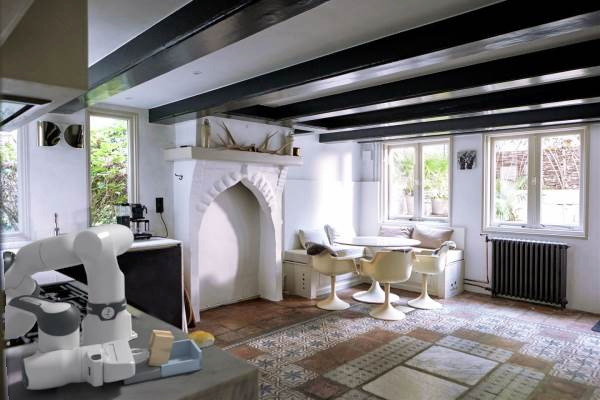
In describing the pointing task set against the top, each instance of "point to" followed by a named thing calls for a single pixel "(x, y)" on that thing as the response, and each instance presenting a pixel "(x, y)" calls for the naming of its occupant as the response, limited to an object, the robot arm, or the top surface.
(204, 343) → the bread roll
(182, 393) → the top surface
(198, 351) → the tray
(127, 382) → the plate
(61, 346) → the robot arm
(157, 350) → the oak block
